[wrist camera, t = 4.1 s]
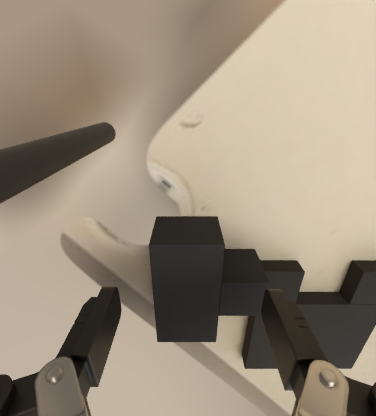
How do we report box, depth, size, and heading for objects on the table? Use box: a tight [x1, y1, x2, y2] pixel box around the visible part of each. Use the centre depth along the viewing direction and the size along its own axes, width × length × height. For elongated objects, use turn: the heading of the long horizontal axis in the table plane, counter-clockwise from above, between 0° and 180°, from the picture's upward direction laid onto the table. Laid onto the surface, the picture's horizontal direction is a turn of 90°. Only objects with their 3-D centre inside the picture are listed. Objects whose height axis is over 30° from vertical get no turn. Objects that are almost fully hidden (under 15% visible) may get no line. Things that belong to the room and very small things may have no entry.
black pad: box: [242, 261, 376, 369], centre depth 23 cm, size 12×14×2 cm
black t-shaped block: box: [149, 217, 270, 342], centre depth 19 cm, size 10×8×4 cm
